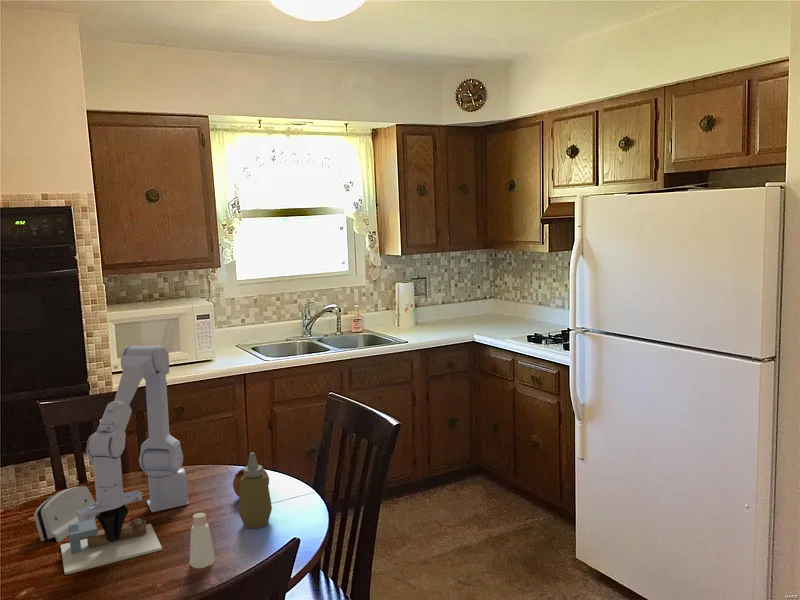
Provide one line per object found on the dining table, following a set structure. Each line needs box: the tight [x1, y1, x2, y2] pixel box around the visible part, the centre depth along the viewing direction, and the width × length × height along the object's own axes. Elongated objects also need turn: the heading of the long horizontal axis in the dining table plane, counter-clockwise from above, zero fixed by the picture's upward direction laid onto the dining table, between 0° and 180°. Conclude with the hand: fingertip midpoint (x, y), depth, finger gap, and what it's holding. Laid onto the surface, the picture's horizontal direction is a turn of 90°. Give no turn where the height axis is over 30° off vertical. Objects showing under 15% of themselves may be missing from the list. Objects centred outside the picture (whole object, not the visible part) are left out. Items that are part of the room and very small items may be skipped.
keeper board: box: [60, 519, 163, 576], centre depth 155 cm, size 20×14×6 cm
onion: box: [232, 467, 270, 498], centre depth 181 cm, size 10×9×10 cm
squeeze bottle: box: [238, 452, 273, 529], centre depth 164 cm, size 8×8×18 cm
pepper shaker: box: [189, 512, 216, 569], centre depth 147 cm, size 5×5×11 cm
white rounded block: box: [33, 485, 97, 543], centre depth 167 cm, size 17×5×10 cm, turn 166°
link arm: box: [86, 518, 147, 548], centre depth 158 cm, size 13×4×3 cm, turn 122°
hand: (113, 539), depth 155 cm, fingers closed
